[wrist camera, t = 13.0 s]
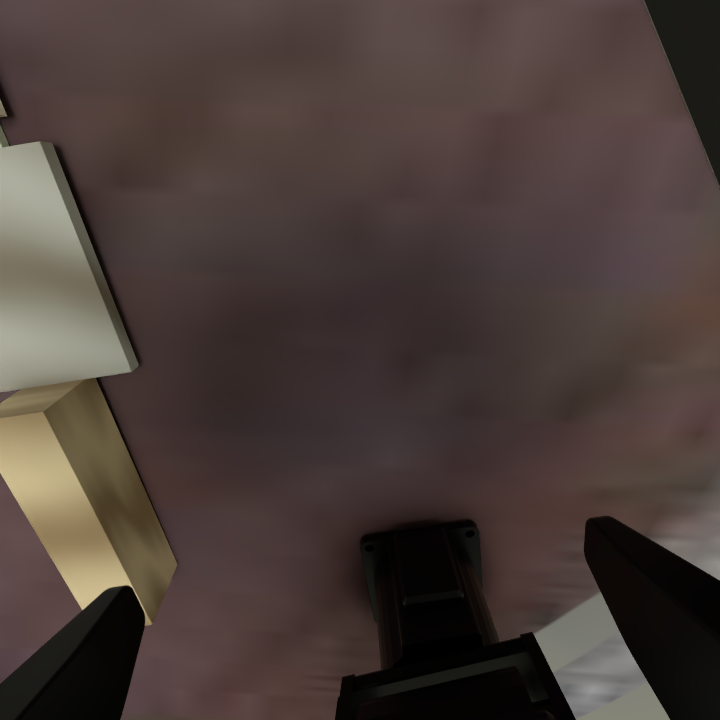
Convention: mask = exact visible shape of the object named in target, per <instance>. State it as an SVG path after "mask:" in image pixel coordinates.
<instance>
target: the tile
mask: <svg viewBox="0 0 720 720" xmlns="http://www.w3.org/2000/svg"><path fill="white" fill-rule="evenodd" d="M6 116H7V115H6V112H5V110H4V107H3V105H2V102H1V100H0V117H6Z"/></svg>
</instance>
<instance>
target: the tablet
mask: <svg viewBox="0 0 720 720" xmlns="http://www.w3.org/2000/svg"><path fill="white" fill-rule="evenodd" d="M643 1H644V4H645V6H646V9H647V11H648V14H649V16H650V18H651V21H652V23H653V26H654V28H655V31H656V33H657V36H658V38H659V41H660V43H661V45H662V48H663V50H664V53H665V55H666V58H667V60H668V63H669V65H670V68H671V70H672V73H673V75H674V77H675V80H676V82H677V85H678V87H679V90H680V92H681V95H682V97H683V100H684V102H685V104H686V107H687V109H688V112H689V114H690V117H691V119H692V122H693V124H694V127H695V129H696V132H697V134H698V136H699V139H700V141H701V144H702V146H703V149H704V151H705V154H706V156H707V159H708V161H709V163H710V166H711V168H712V171H713V173H714V176H715V178H716V181H717V183H718V186H719V188H720V0H643Z"/></svg>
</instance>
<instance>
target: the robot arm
mask: <svg viewBox="0 0 720 720" xmlns="http://www.w3.org/2000/svg"><path fill="white" fill-rule="evenodd" d="M469 530H471V531H470V532H467V531H469ZM367 545H372V546H367ZM360 550H361V555H362V560H363V565H364V570H365V576H366V581H367V586H368V591H369V596H370V601H371V606H372V611H373V616H374V620H375V622H377V623H378V634H379V647H380V659H381V670H380V671H376V672H372V673H367V674H363V675H359V676H355V675H354V674H353V675H349V676H344V677H342V683H341V690H340V697H338V701H337V709H336V716H335V720H576V719H575V717H574V715H573V713H572V711H571V709H570V707H569V705H568V703H567V701H566V699H565V697H564V695H563V693H562V691H561V689H560V687H559V685H558V683H557V681H556V679H555V677H554V675H553V673H552V671H551V669H550V667H549V665H548V663H547V661H546V659H545V656H544V654H543V653H542V651H541V648H540V646H539V645H538V642H537V640H536V638H535V636H534V634H533V633H532V632H529V633H525V634H521V635H520V637H519V638H515V639H511V640H506V641H502V642H500V641H499V638H498V635H497V632H496V629H495V626H494V623H493V620H492V618H491V615H490V612H489V609H488V606H487V603H486V600H485V597H484V595H483V592H482V574H481V556H480V539H479V531H478V528H477V525H476V524H475V523H474V522H471V521H467V522H460V523H453V524H446V525H439V526H432V527H426V528H419V529H412V530H405V531H398V532H391V533H384V534H377V535H370V536H366V537H364V538H362V539H361V541H360ZM584 554H585V558H586V561H587V564H588V566H589V568H590V570H591V572H592V574H593V576H594V578H595V580H596V583H597V585H598V587H599V589H600V591H601V593H602V595H603V597H604V599H605V601H606V604H607V606H608V608H609V610H610V612H611V614H612V616H613V618H614V620H615V622H616V625H617V627H618V629H619V631H620V633H621V635H622V637H623V639H624V641H625V643H626V645H627V647H628V649H629V650H630V652H631V654H632V656H633V657H634V659H635V661H636V663H637V664H638V666H639V668H640V669H641V671H642V673H643V674H644V676H645V678H646V679H647V681H648V683H649V684H650V686H651V688H652V689H653V691H654V693H655V694H656V696H657V698H658V700H659V701H660V703H661V704H662V706H663V708H664V709H665V711H666V713H667V714H668V716H669V718H670V720H720V580H718V579H716V578H715V577H713V576H711V575H710V574H708V573H706V572H704V571H703V570H701V569H699V568H698V567H696V566H694V565H693V564H691V563H689V562H688V561H686V560H684V559H682V558H681V557H679V556H677V555H676V554H674V553H672V552H671V551H669V550H667V549H665V548H664V547H662V546H660V545H659V544H657V543H655V542H654V541H652V540H650V539H648V538H647V537H645V536H643V535H642V534H640V533H638V532H637V531H635V530H633V529H632V528H630V527H628V526H626V525H625V524H623V523H621V522H620V521H618V520H616V519H615V518H613V517H610V516H601V517H594V518H589V519H588V520H587V521H586V525H585V541H584ZM144 627H145V613H144V610H143V608H142V606H141V604H140V602H139V600H138V598H137V596H136V594H135V592H134V590H133V588H132V587H130V586H128V585H124V586H117V587H111V588H108V589H106V590H105V591H104V592H102V593H101V594H100V595H99V596H98V597H97V598H96V599H95V600H93V601H92V602H91V603H90V604H89V605H88V606H87V607H86V608H84V609H83V610H82V611H81V612H80V613H79V614H78V615H77V616H76V617H74V618H73V619H72V620H71V621H70V622H69V623H68V624H67V625H66V626H64V627H63V628H62V629H61V630H60V631H59V632H58V633H57V634H55V635H54V636H53V637H52V638H51V639H50V640H49V641H48V642H47V643H45V644H44V645H43V646H42V647H41V648H40V649H39V650H38V651H36V652H35V653H34V654H33V655H32V656H31V657H30V658H29V659H28V660H26V661H25V662H24V663H23V664H22V665H21V666H20V667H19V668H18V669H16V670H15V671H14V672H13V673H12V674H11V675H10V676H9V677H7V678H6V679H5V680H4V681H3V682H2V683H1V684H0V720H120V719H121V715H122V712H123V708H124V705H125V701H126V698H127V694H128V690H129V686H130V682H131V678H132V674H133V670H134V666H135V663H136V659H137V655H138V651H139V647H140V643H141V639H142V635H143V631H144Z"/></svg>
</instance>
